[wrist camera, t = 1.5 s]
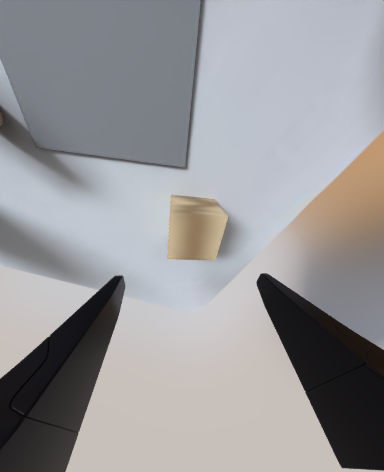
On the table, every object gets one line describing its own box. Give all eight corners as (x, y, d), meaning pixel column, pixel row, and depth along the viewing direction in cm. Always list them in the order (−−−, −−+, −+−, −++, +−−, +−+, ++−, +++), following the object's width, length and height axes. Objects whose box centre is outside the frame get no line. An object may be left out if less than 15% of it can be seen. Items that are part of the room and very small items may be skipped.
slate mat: (209, -97, 9) (210, -107, 8) (184, 167, 16) (184, 167, 16) (-115, -251, 6) (-132, -274, 6) (39, 147, 14) (35, 147, 14)
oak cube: (213, 198, 19) (228, 216, 14) (206, 235, 22) (215, 260, 17) (170, 194, 18) (169, 212, 13) (168, 233, 21) (167, 259, 16)
